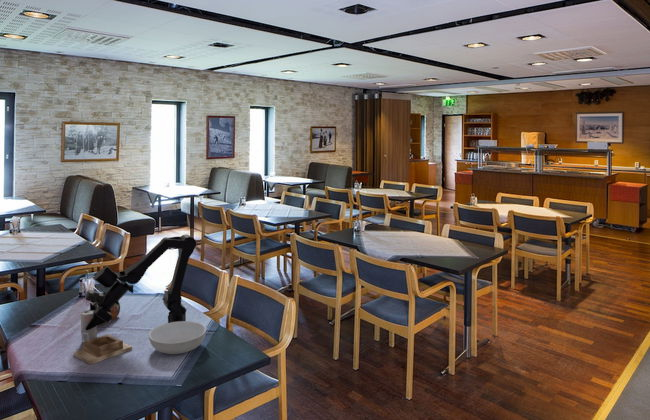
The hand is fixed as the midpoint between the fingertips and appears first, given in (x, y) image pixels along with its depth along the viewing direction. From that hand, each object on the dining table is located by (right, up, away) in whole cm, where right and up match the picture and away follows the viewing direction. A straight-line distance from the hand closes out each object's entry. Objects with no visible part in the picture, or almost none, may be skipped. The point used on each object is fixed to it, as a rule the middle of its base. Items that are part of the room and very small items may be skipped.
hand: (84, 326), depth 189 cm
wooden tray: (+10, -8, -7) cm, 15 cm away
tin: (-2, -4, +23) cm, 24 cm away
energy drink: (+1, -7, +2) cm, 7 cm away
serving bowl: (+37, -8, -2) cm, 38 cm away
